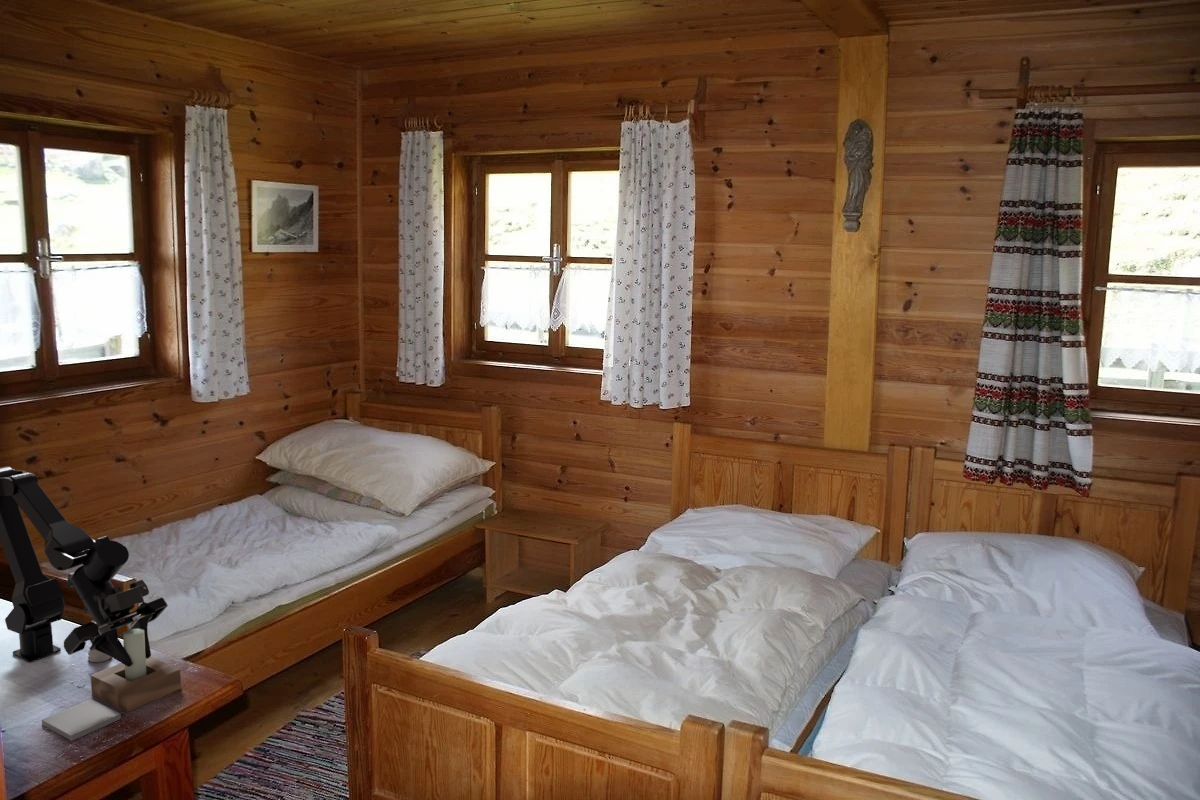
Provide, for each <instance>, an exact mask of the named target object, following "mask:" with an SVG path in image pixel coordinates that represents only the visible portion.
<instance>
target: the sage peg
mask: <svg viewBox="0 0 1200 800" xmlns="http://www.w3.org/2000/svg"><path fill="white" fill-rule="evenodd" d="M122 640H123V647H124V649H125V650H126V652H127V653H128V655H129V657H130V659H131V661H132V663H133V664H132V665H131V666H130V667H128V666H126V665H125V678H126V680H129V681H131V682H132V681H134V680H137V679H139V678H142V677H144V676H146V675H147V673H146V654H145V635H144V630H143V629H128V630H125V631H124V632H123V633H122Z"/></svg>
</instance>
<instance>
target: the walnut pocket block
mask: <svg viewBox="0 0 1200 800" xmlns="http://www.w3.org/2000/svg"><path fill="white" fill-rule="evenodd" d="M146 673H147V675H146V676H144V677H142V678H139V679H137V680H134V681H132V682H131V681H129V680H126V678H125V665H124V664H123V663H121V662H119V663H118V664H115V665H113V666H110V667H108V668H104V669H103V670H100V671H98V672H95V673H93V674H91V675H90V686H91V696H93V697H96V698H97V699H100V700H101V701H103V702H106V703H108V704H109V705H112V706H114V707H115V708H118V709H120V710H122V711H124V712H126V713H129V711H130V712H131V710H132V711H134V710H136V709H139V708H141V707H142V706H146V705H147V704H150V703H152V702H154V701H156V700H158V699H161V698H163V697H165V696H167V695H170V694H172V693H173V692H177V691H178V689H179V690H181V688H182V683H181V682H182V681H181V669H180V668H178V667H177V666H174V665H171V664H169V663H167V662H164V661H162V660H159V659H158V658H155V657H153V656H152V655H151V656H150V657H149V658H148V659H147V658H146ZM138 707H139V708H138Z"/></svg>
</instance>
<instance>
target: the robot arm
mask: <svg viewBox="0 0 1200 800" xmlns="http://www.w3.org/2000/svg"><path fill="white" fill-rule="evenodd" d="M21 512H23V513H24V515H25V516H26V517H27V519H28V520H29V521H30V523H31V524H32V525H33V527H34V528H35V529H36V531H37V532H38V533H39V534H40V536H41V537H42V539H43V540H44V554H45V556H46V557H47V559H48V561H49V563H50V565H51V566H52V567H53V568H54V569H55V570H57V571H67V570H71V569H73V568H76V567H78V568H76V570H75V571H73V572H70V573H68V574H67V576H68V577H67V580H66V584H65V585H66V586H65V587H66V588H67V589H70V588H74V589H75V592H76V593H77V595H78V596H79V598H80V599H81V601H82V603H83V604H84V607H83V609H82V610H83V612H84V614H85V615H86V614H90V615H91V617H92V618H93V621H94V622H96V623H93V622H91V621H90V622H87V623H84V624H82V625H79V626H77V627H74V628H73V629H72V630H71V632H70V633H69V634H68V635H67V636H66V637H65V639H64V640H63V648H64V650H65V652H66V654H67V655H68V656H69V655H70V656H71V655H74V654H77V652H78V653H79V652H80V651H83V650H84V649H85V646H86V644H87V642H88V641H90V643H91V646H90V647H89V650H98V651H100V652H102V653H104V654H106V655H109V656H110V657H111V658H113V659H114V660H116V661H117V662H119V663H123V664H124V665H126V666H128V667H130V666H131V665H132V664H133V663H132V661H131V659H130V657H129V655H128V653H127V652H126V650H125V649H124V644H122V642H121V640H120V639H119V636H118V629H120V628H122V627H125V626H127V628H128V630H130V629H143V630H144V635H145V654H146V658H147V659H148V658H149V657H150V656H151V657H152V652H151V647H150V641H149V634H148V625H149V623H151V622H153V621H155V620H156V619H158V617H159V616H160V615H162V613H163V612H164V611H165V610H166V608H167V607H168V606H169V604H168V603H167V601H166V600H165V598H164V597H162V596H159V595H157V596H154V597H152V598H149V599H147V600H144V597H146V596H148V595H150V590H149V586H148V585H147V584H146V583H145V581H144V580H143V579H140V580H137V581H134V582H131V583H129V588H128V589H126V590H123V589H122V588H121V587H120V586H119V585H116V586H115V587H114V585H113V583H112V582H111V580H112V579H113V578H114V577H115V576H116V575H117V574H118V572H119V571H120V570H121V569H122V568H123V567H124V565H126V564H127V562H128V560H129V557H130V554H129V550H128V547H126V546H125V545H124V544H122V543H120V542H119V541H116V540H110V538H109V536H108V535H105V536H101V537H99V538H96V540H95V539H93V538H92V537H91V536H90V535H89V534H88V533H87V532H86V531H85V530H84V529H83V528H81V527H79V526H77V525H74V524H72V523H70V522H69V521H68V520H67V519H66V518H65V517H64V516H63V515H62V513H61V512H60V510H59V509H58V508H57V506H56V505H55V504H54V503H53V501H52V500H51V499H50V497H49V496H48V494H47V493H46V492H45V491H44V490H43V488H42V487H41V486H40V484H39V481H38V478H37V475H36V474H34V473H33V472H26V470H18V469H17V470H16V469H13V468H12V467H11V466H3V467H0V543H1V547H2V549H3V551H4V555H5V557H6V560H7V562H8V565H9V568H10V571H11V574H12V576H13V578H14V579H13V580H14V583H15V586H14V589H13V593H12V595H11V596H12V597H11V602H12V606H13V608H12V609H11V611H10V612H9V613H8V614H7V616H6V617H5V619H4V621H5V625H6V628H7V630H9V631H11V632H14V633H17V634H18V635H19V636H18V637H19V638H18V639H19V648H18V649H16V650H13V651H12V655H13V656H15V657H17V658H20V659H22V660H23V661H26V662H28V663H33V662H35V661H37V660H40V659H43V658H45V657H46V658H47V657H49V656H51V655H53V654H56V653H59V652H61V651H62V648H61V647H58V645H57V646H56V644H55V645H54V641H53V640H54V639H53V629H52V628H53V627H52V626H53V625H52V624H53V623H55V622H58V621H62V618H63V615H64V614H63V613H64V609H65V603H66V600H65V597H64V593H63V592H62V590H61V588H60V585H59V584H60V583H59V581H58V580H57V579H56V578H54V577H53V578H49V577H48V576H47V575H45V574H44V573H43V570H42V568H41V565H40V562H39V559H38V556H37V554H36V553H37V552H35V551H36V550H35V548H34V546H33V543H32V542H33V541H32V539H31V537H30V535H29V532H28V529H27V526H26V524H25V520H24V518H23V515H22V513H21ZM136 604H139V606H138V607H137V608H136V609H135V610H133V609H134V608H135V607H136ZM131 610H133V611H131ZM130 611H131V612H130Z"/></svg>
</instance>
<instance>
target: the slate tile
mask: <svg viewBox="0 0 1200 800" xmlns="http://www.w3.org/2000/svg"><path fill="white" fill-rule="evenodd" d="M121 719H122V716H121V713H120V712H118V711H116V710H115V709H113V708H112V709H111V708H110V707H108V706H106V705H104V704H102V703H100V702H98V701H95V700H94V699H93V698H92V699H91V698H90V699H88V700H85V701H83V702H80V703H78V704H75V705H73V706H71V707H69V708H65V710H62V711H60V712H57V713H55V714H53V715H52V714H51V715H50V716H47V717H45V718H42V719H41V726H44V727H45V728H47V729H49V730H51V731H53V732H54V733H57V734H58V735H60V736H62V737H64V738H65V739H67V740H70V741H71V742H73V741H74V740H77V739H79V738H81V737H83V736H85V735H88V734H90V733H92V732H94V731H97V730H99V729H101V728H103V727H105V726H108V725H110V724H112V723H114V722H115V723H116V722H117V721H119V720H121Z"/></svg>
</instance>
